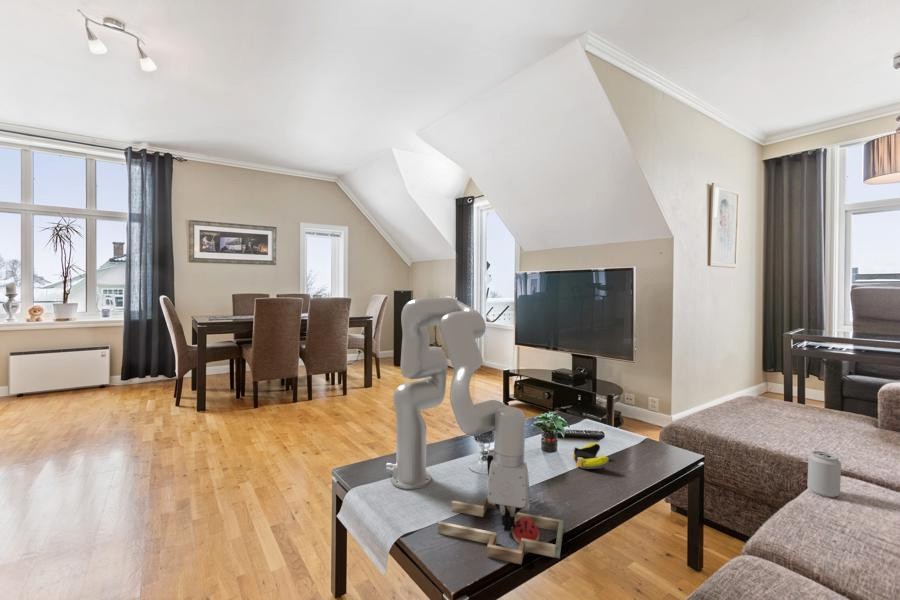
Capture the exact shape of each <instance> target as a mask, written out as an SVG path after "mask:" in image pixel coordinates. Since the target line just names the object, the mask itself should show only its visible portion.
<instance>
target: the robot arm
mask: <svg viewBox="0 0 900 600" xmlns="http://www.w3.org/2000/svg"><path fill="white" fill-rule="evenodd" d="M400 318H401V321H400V322H401V330H402V340H401V350H400V351H401V354H400V373H401V375H402V377H403V378H404V379H407V380H412V381H409V382H404V383H402V384H400V385H399V386H397V387H396V388H395V390H394V392H393V395H392V400H393V407H394V412H395V422H396V423H395V424H396V425H395V426H396V427H395V428H396V431H395V432H396V433H395V434H396V438H395V439H396V440H395V441H396V444H395V445H396V449H395V450H396V456H395V457H396V460H395V461H396V463H392V462H386V464H385V472H387V473H391V474H392V475H391V484H393V485H394V486H395V487H396V488H399V489H404V490H417V489H420V488H424V487H426V486H427V485H429V484H430V483H431V480H432V475H431V473H430V472H429V471H427V423H426V420H425V419H424V417H423V415H422V413H421V412H422V411H426V410H428V409H432V408H436V407H438V406H440V405H441V404H442V403H443V402H444V400H445V395H446V388H447V377H448V376H447V375H448V357H449V360H450V362H451V365H452V369H453V375H452V378H451V383H450V388H449V389H450V393H449V401H450V406H451V409H452V411H453V414H454V417H455V420H456V423H457V425H458V427H459V429H460V430H461V432H463V433H464V434H465V435H467V436H469V437H476V436H479V435H481V434H484V433H487V432H492V431H494V444H493V445H494V448H493V449H490V450H489V451H488V455H489V456H492V457H493V458H494V459H493V460H492V461H491V464H490V470H489V478H488V477H487V478H488V479H487V489H486V491H487V492H486V493H487V495H486V497H487V498H488V503H490V504H492V505H495V506H496V507H497V508H498V509H499V510H498V511H499V513H500V515H501V525H502V526H503V531H504V532H510V533H511V531H512V529H513V527H514V524H515V514H516V513H518V512H519V513H520V511H529V510H530V508H531V505H530V501H529V500H530V480H529V479H530V477H529V469H528V464H527V463H526V462H525V441H526V440H525V439H526V438H525V437H526V435H525V434H526V427H525V426H526V415H525V413H524V411H523V410H522V409H520V408H518V407H514V406H509V405H506V404H505V403H503V402H502V401H499V400H497V399H489V400H486V401H481V402H479V403H473V400H472V397H471V392H470V383H471V379H472V377H473V375H474V373H475V372H476V371H477V370H478V369H479V368H480V367H481V366H482V365H483V361H484V358H483V356H482V354H481V351H480V348H479V345H478V343H477V339H479V338H481V337H483V336H484V334H485V332H486V329H487V327H486V321H485V319H484V317H483V316H482V314H481V313H480V312H479V311H477V310H476V309H475V308H473V307H471V306H469V305H468V304H465V303H463V302H462V301H460V300H458V299H456V298H455V297H446V296H445V297H442V296H441V297H418V298H414V299H412V300H409V301H408V302H406V304H404V306H403V308H402V310H401V317H400ZM428 326H429V327H431V326H438V327H439V330H440V334H441V337H442V340H443V342H444V346H445V348H446V352H447V354H448V357H447V354H446V353H445V352H444V350H443V349H442V348H440V347H439V346H430V341H431V340H430V339H431V338H430V333H429V331H428V329H427V327H428ZM417 379H419V380H417ZM413 380H414V381H413ZM507 506H510V507H511V509H510V511H509V510H508V509H507Z"/></svg>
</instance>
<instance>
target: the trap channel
mask: <svg viewBox="0 0 900 600" xmlns="http://www.w3.org/2000/svg"><path fill="white" fill-rule="evenodd" d="M488 509H493V510H497V511H499V509H498V508H497V507H496V506H495V505H492V504H490V503H488V498H487V496H484V498H483V499H482V502H481V504H480V505H479V504H474V503H469V502H463V501H459V500H452V501H451V512H455V513H459V514H466V515H469V516H470V515H471V516H476V517H481V518H484V516H485V514H486V512H487V511H488ZM507 509H508V510H509V511H510V509H511V507H510V506H507ZM522 517H528V518H530V519H531V520H532V521H533V522H534V523H535V524H536V526H537V528H538V529H539V528H540V529H545V530H549V531H555V532H557V533H556V541H555V544H553V543H550V542H545V541H539V540H538V541H535V540H530V539H525V538H521V541H520V544H519V546H518V548H517V549H514V548H508V547H504V546H499V545H497V544H498V538H497V537H498V533H497V532H494V531H490V530H484V529H481V528H480V529H479V528H474V527H469V526H464V525H459V524H455V523H449V522H445V521H438V522H437V533H438V534H440V535H441V534H442V535H444V536H445V535H446V536H450V537H453V538H454V537H456V538H461V539H464V540H470V541H474V542H479V543H484V544H487V546H486V558H491V559H495V560H500V561H502V562H503V561H504V562H508V563H512V564H518V565H522V563H523V559H524V556H525V552H527V553H532V554H536V555H541V556H546V557H550V558H553V559H559V560H560V558H561V550H562V542H563V535H564V520H563V519H558V518H557V519H556V518H553V517H552V518H551V517H546V516H539V515H534V514H530V513H523V512H520V511H519V512H518V513H516V514H515V523H516V521H517V520H519V519H520V518H522Z"/></svg>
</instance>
